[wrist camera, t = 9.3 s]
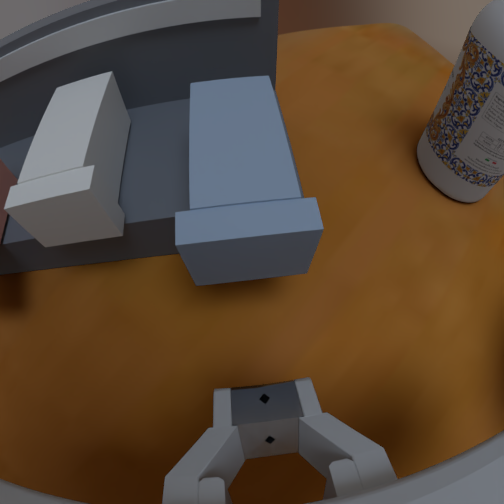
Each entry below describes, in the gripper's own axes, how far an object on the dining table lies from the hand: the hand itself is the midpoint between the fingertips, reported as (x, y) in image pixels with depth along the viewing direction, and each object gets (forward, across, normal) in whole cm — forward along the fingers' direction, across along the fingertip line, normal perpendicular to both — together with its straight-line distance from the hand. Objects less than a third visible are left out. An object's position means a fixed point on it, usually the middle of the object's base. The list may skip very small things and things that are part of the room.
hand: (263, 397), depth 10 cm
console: (+15, +8, -6) cm, 18 cm away
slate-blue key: (+8, 0, -5) cm, 9 cm away
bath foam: (+14, -17, -5) cm, 23 cm away
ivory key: (+10, +8, -7) cm, 14 cm away
